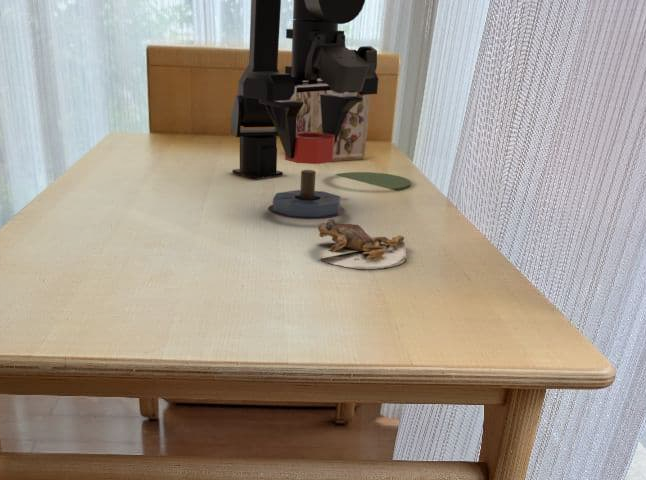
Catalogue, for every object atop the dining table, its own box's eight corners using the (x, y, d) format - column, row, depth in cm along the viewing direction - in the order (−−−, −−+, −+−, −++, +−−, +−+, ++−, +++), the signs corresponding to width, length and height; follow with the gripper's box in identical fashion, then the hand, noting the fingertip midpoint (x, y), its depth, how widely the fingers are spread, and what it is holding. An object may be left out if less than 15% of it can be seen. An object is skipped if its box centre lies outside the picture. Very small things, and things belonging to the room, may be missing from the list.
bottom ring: (261, 206, 116) (261, 195, 115) (311, 199, 121) (311, 187, 120) (301, 220, 110) (302, 207, 109) (352, 211, 115) (353, 199, 114)
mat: (309, 179, 138) (309, 177, 137) (370, 171, 145) (370, 169, 144) (365, 195, 128) (366, 192, 128) (428, 185, 135) (428, 183, 135)
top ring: (276, 157, 112) (277, 133, 110) (312, 153, 115) (313, 130, 114) (305, 165, 108) (307, 140, 106) (342, 160, 111) (343, 136, 109)
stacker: (252, 213, 117) (252, 168, 113) (311, 204, 122) (313, 161, 119) (300, 230, 110) (302, 182, 106) (361, 219, 115) (364, 174, 112)
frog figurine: (307, 266, 96) (309, 232, 94) (319, 239, 106) (320, 208, 103) (405, 272, 94) (409, 238, 92) (408, 245, 104) (411, 214, 102)
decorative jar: (311, 163, 150) (316, 49, 140) (283, 152, 159) (287, 44, 149) (367, 159, 154) (376, 48, 144) (337, 149, 163) (344, 44, 153)
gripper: (297, 24, 93) (292, 172, 101) (414, 23, 102) (399, 158, 111) (240, 19, 100) (240, 158, 109) (354, 19, 109) (345, 146, 118)
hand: (309, 155), depth 111 cm, fingers closed on top ring, 6 cm apart
